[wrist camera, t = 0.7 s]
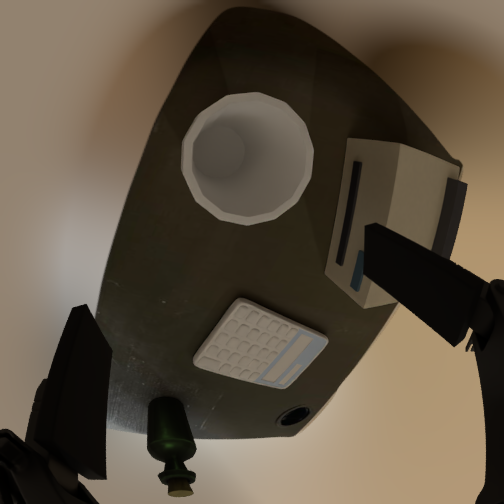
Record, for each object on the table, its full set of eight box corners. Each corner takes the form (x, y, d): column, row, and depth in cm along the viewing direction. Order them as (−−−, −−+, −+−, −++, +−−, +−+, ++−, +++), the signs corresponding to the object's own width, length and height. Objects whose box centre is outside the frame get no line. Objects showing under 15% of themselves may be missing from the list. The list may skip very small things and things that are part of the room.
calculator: (237, 293, 37) (241, 300, 36) (327, 334, 46) (332, 341, 45) (189, 358, 39) (190, 367, 38) (282, 384, 48) (285, 391, 47)
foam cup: (207, 208, 32) (235, 250, 20) (159, 145, 27) (153, 147, 16) (272, 160, 32) (333, 174, 20) (229, 96, 27) (271, 69, 16)
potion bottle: (175, 421, 45) (192, 501, 29) (137, 411, 41) (145, 497, 25) (195, 400, 44) (218, 487, 28) (154, 388, 40) (166, 483, 24)
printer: (344, 137, 33) (411, 144, 23) (411, 156, 38) (470, 170, 27) (321, 273, 40) (370, 318, 30) (387, 268, 45) (435, 301, 34)
